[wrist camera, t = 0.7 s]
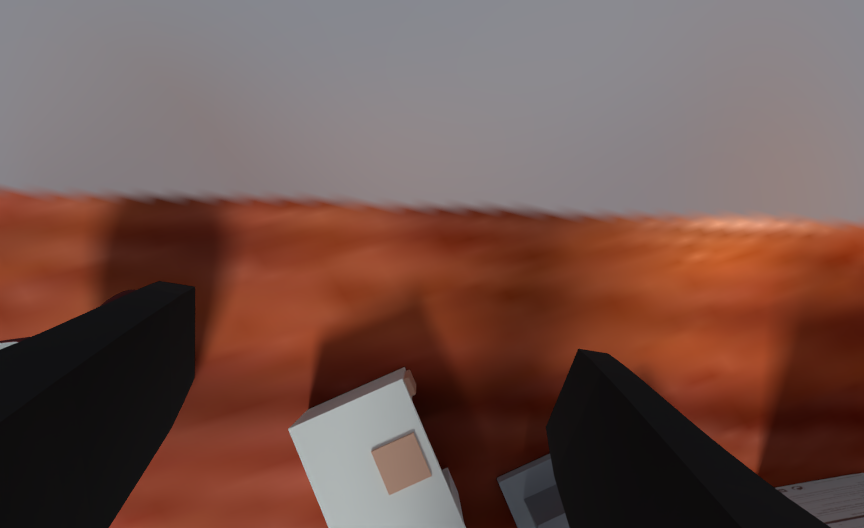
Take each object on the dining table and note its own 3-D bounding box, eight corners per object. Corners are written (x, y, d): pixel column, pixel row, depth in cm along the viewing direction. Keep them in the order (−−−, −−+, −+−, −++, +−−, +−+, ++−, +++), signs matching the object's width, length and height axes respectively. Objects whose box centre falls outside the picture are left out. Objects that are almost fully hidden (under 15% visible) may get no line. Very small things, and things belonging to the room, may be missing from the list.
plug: (670, 506, 30) (703, 533, 27) (551, 562, 30) (568, 597, 26) (642, 444, 30) (671, 463, 27) (523, 499, 30) (537, 525, 26)
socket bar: (506, 593, 30) (522, 648, 25) (403, 641, 30) (400, 707, 25) (409, 364, 31) (407, 377, 26) (308, 409, 31) (287, 430, 26)
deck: (695, 532, 31) (703, 538, 30) (549, 601, 30) (553, 609, 29) (641, 411, 31) (647, 414, 30) (496, 478, 31) (498, 482, 30)
